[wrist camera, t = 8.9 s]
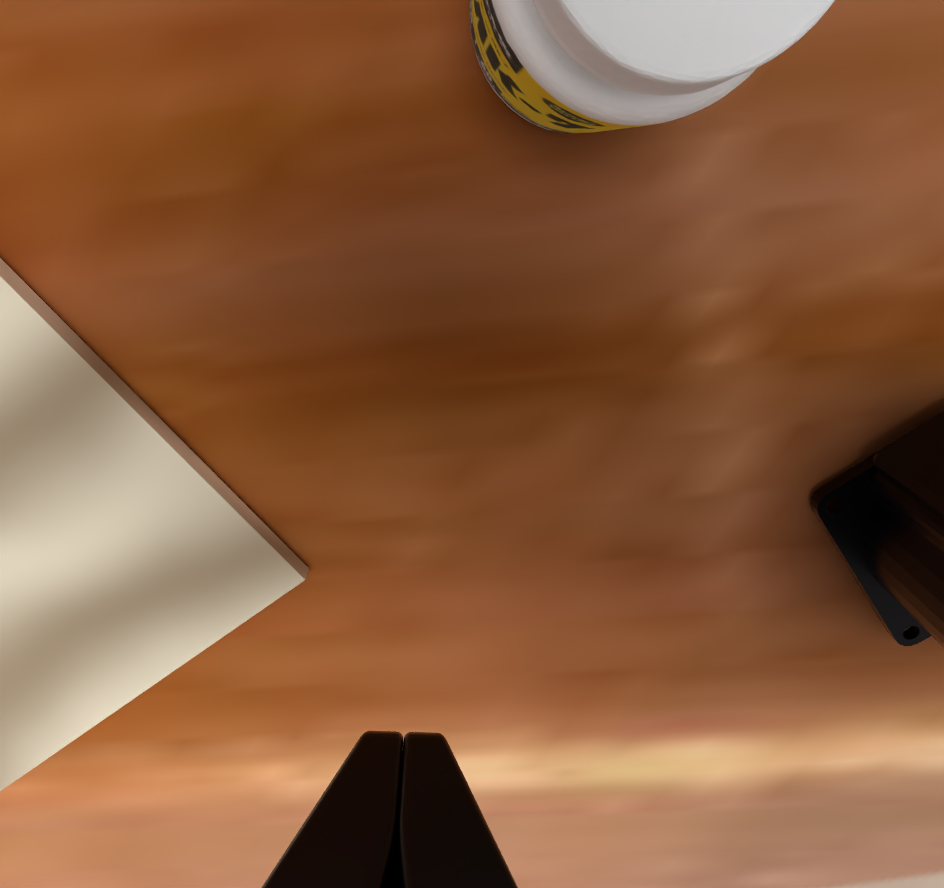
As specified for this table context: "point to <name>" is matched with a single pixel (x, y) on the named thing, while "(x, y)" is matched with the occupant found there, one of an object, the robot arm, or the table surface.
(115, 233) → the table surface
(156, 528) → the cream square board
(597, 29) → the supplement bottle
